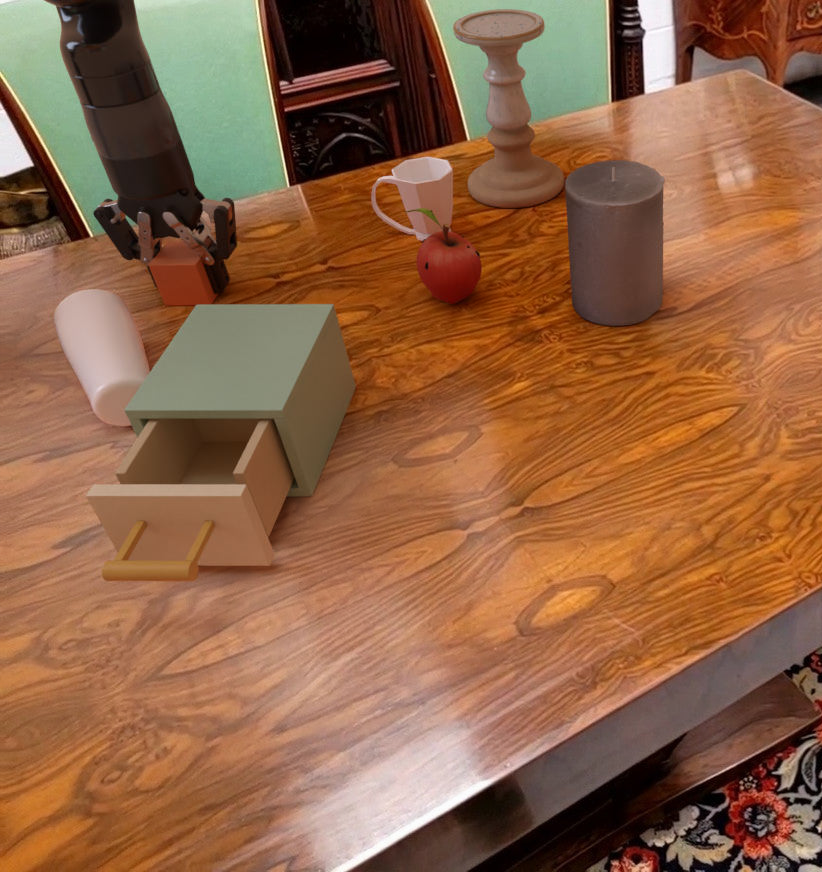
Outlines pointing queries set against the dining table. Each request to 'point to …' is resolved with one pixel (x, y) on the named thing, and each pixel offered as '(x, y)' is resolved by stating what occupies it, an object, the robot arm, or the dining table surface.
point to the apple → (448, 264)
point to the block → (181, 276)
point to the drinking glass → (103, 350)
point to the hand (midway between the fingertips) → (195, 289)
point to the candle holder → (508, 113)
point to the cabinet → (257, 377)
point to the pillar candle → (615, 241)
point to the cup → (421, 194)
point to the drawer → (194, 498)
